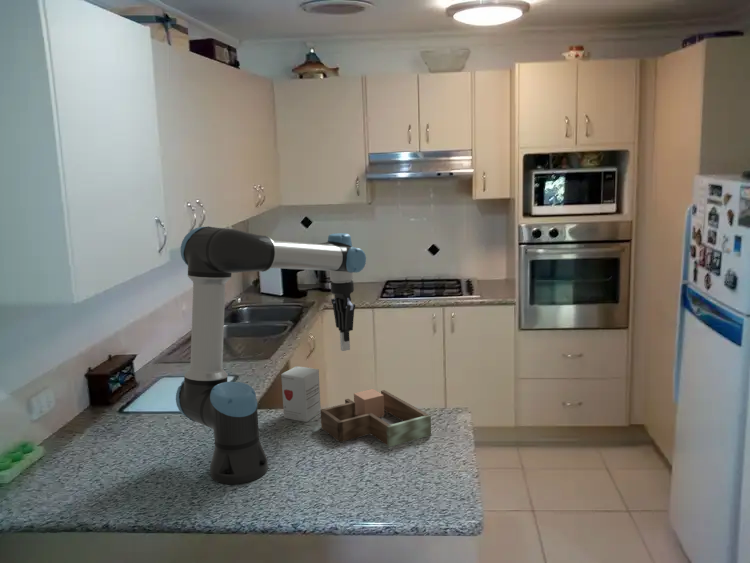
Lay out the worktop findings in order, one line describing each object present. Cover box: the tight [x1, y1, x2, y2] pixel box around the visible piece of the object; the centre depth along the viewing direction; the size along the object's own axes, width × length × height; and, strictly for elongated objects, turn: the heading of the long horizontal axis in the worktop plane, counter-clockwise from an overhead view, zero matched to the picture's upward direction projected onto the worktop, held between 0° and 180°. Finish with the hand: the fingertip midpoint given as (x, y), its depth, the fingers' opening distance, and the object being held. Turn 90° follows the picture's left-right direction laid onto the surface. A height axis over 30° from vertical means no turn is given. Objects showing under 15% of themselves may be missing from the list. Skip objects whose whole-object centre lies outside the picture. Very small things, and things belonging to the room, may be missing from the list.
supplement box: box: [280, 365, 322, 423], centre depth 217 cm, size 9×9×15 cm
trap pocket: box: [320, 402, 371, 443], centre depth 205 cm, size 11×12×6 cm
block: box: [353, 388, 385, 418], centre depth 217 cm, size 7×7×7 cm
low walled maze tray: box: [344, 389, 432, 448], centre depth 207 cm, size 14×27×6 cm, turn 30°
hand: (345, 349), depth 227 cm, fingers closed
